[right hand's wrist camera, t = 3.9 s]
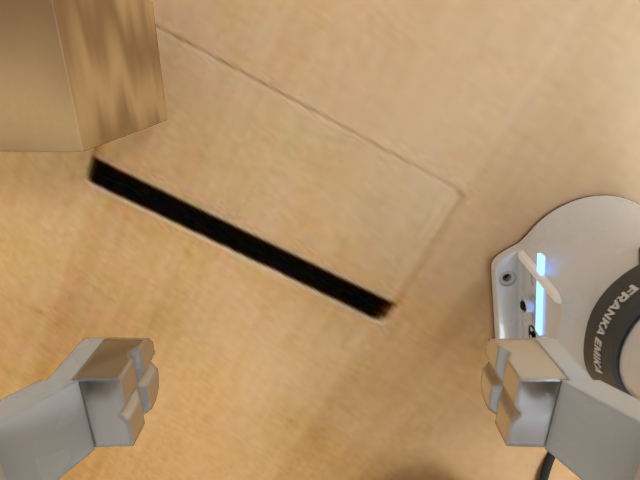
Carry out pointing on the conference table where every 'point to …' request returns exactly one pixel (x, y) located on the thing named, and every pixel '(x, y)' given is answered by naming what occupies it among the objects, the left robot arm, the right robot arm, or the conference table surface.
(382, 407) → the conference table surface
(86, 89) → the box
